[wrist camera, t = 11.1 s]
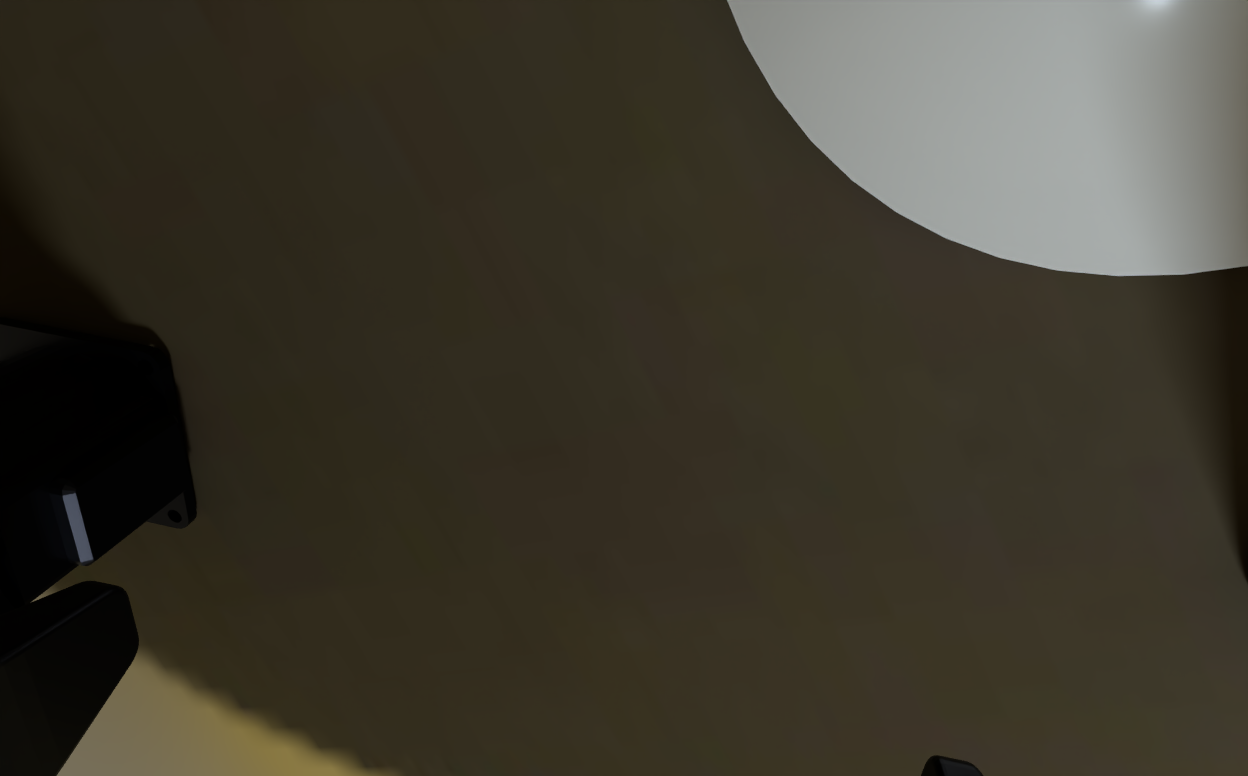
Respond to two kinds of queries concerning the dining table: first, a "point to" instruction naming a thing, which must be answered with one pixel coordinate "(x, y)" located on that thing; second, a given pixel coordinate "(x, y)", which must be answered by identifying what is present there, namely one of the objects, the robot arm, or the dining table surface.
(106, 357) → the robot arm
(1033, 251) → the plate
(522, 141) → the dining table surface
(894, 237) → the dining table surface
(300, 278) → the dining table surface
